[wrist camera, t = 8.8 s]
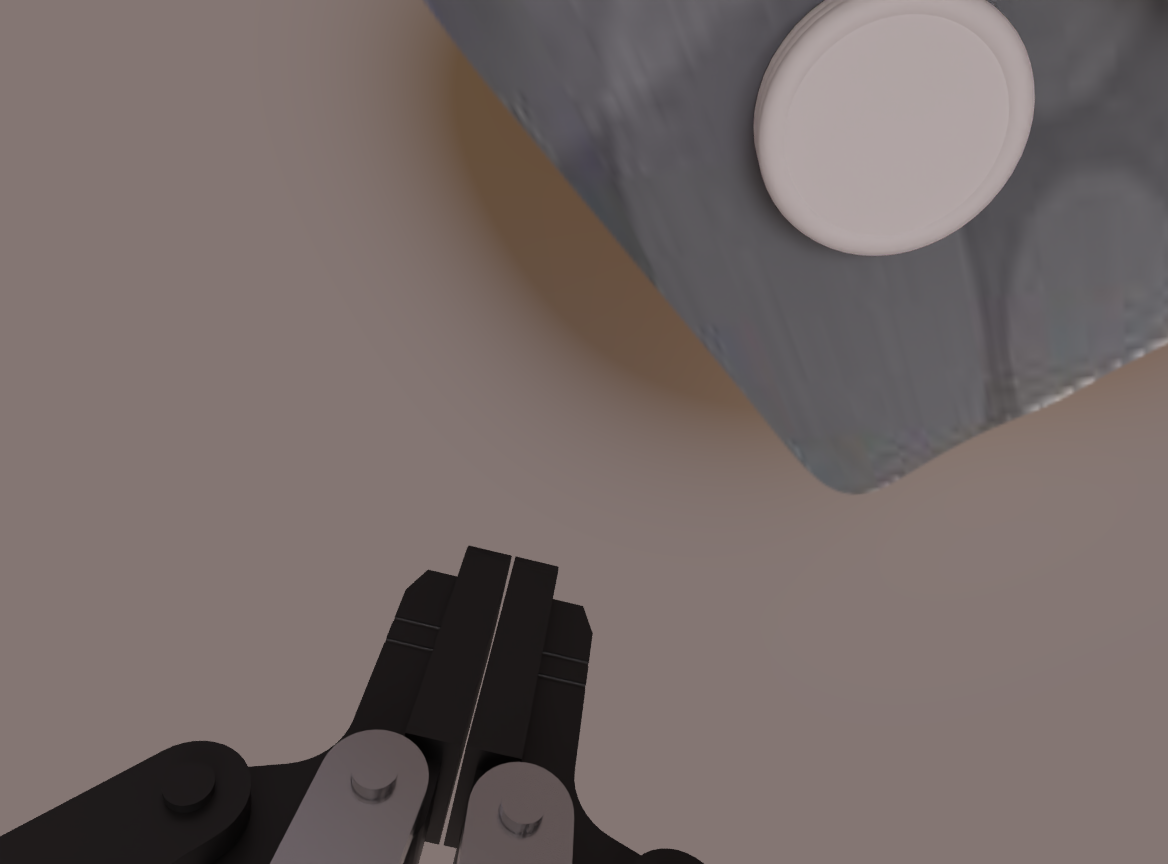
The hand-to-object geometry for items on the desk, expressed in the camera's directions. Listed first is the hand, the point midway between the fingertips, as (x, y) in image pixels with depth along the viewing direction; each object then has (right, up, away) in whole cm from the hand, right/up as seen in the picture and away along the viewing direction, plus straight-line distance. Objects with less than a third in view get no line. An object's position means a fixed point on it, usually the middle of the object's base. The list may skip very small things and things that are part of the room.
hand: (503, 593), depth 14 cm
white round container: (+13, +16, +21) cm, 29 cm away
